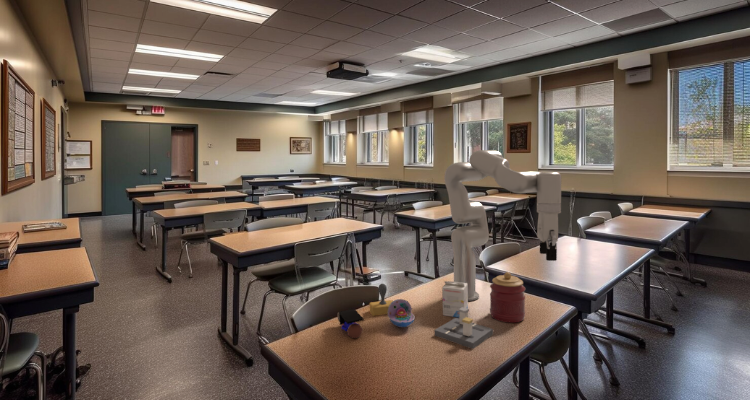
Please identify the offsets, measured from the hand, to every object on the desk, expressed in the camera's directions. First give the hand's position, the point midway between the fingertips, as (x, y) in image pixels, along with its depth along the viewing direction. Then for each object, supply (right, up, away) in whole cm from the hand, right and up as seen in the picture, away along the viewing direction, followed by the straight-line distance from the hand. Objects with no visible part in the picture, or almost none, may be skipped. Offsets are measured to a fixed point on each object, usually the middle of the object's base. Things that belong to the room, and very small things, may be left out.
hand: (547, 256), depth 135 cm
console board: (-29, -28, +1) cm, 40 cm away
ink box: (-28, -26, +20) cm, 43 cm away
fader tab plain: (-28, -25, +5) cm, 38 cm away
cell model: (-50, -27, +10) cm, 58 cm away
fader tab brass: (-29, -26, -4) cm, 39 cm away
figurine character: (-69, -28, +6) cm, 75 cm away
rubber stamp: (-57, -26, +23) cm, 67 cm away
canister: (-9, -26, +16) cm, 32 cm away
